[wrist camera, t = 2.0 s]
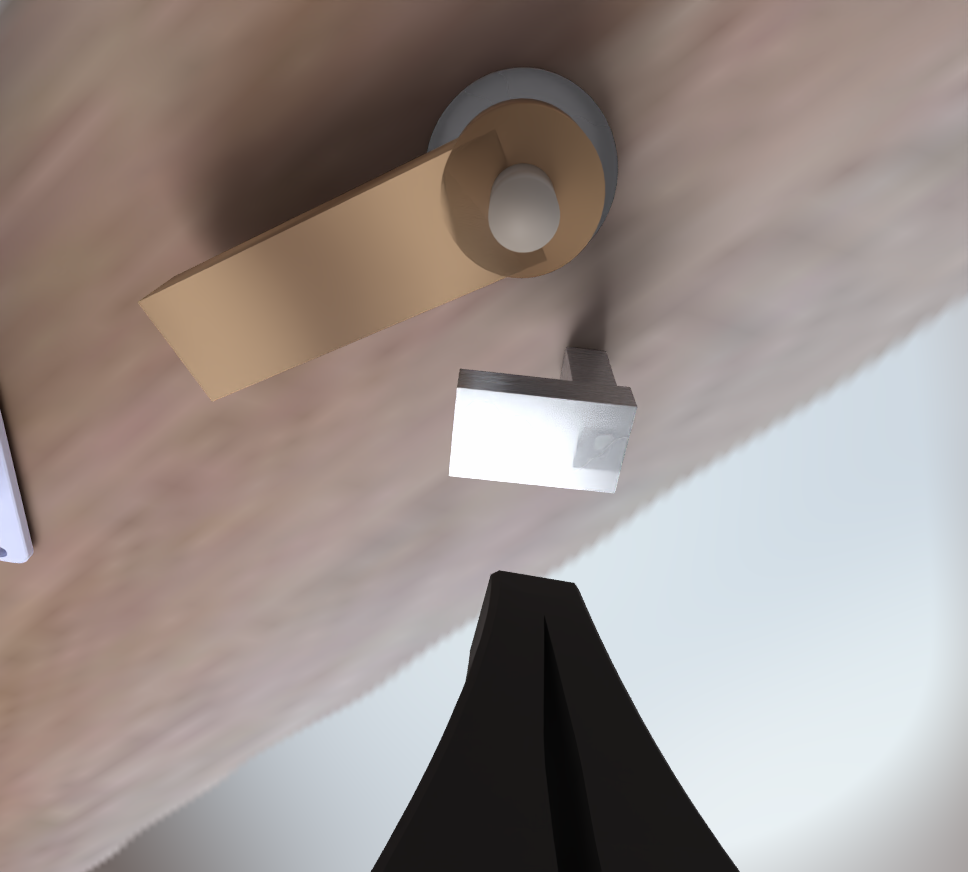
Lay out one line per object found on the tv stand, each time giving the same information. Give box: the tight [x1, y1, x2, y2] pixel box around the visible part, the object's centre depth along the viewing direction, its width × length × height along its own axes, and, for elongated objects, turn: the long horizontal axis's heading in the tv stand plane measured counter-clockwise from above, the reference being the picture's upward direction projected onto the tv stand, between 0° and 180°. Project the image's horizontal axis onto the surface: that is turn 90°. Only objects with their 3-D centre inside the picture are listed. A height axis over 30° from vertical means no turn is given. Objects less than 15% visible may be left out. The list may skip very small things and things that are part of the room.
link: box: [138, 98, 605, 402], centre depth 15 cm, size 11×4×4 cm, turn 114°
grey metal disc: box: [427, 67, 618, 244], centre depth 16 cm, size 5×5×1 cm
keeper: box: [449, 347, 637, 493], centre depth 17 cm, size 2×4×5 cm, turn 85°
